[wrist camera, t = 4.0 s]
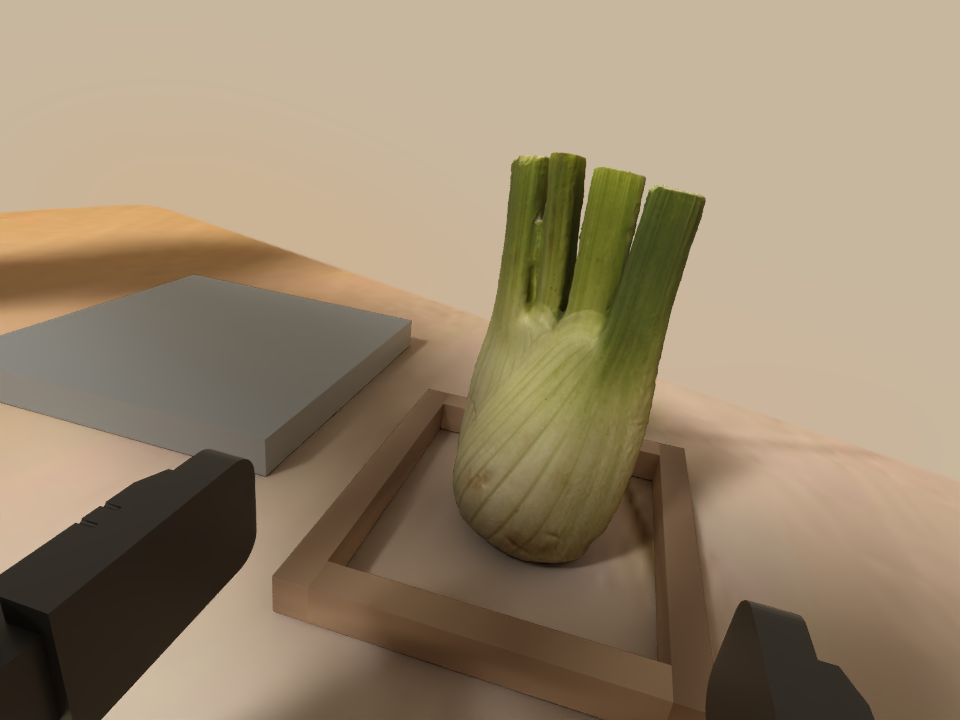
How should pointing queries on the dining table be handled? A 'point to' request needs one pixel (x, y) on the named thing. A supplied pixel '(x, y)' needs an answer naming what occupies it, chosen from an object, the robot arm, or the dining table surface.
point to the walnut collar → (494, 636)
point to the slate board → (201, 366)
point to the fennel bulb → (569, 355)
